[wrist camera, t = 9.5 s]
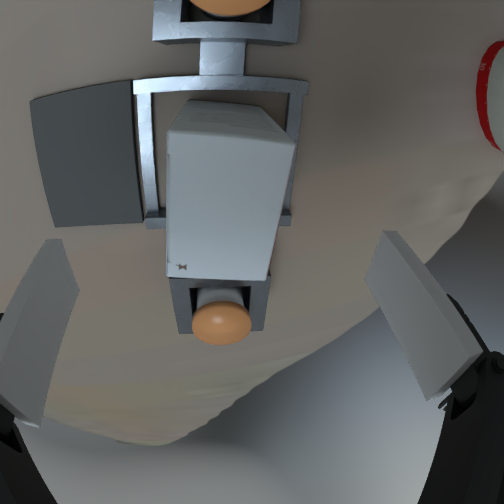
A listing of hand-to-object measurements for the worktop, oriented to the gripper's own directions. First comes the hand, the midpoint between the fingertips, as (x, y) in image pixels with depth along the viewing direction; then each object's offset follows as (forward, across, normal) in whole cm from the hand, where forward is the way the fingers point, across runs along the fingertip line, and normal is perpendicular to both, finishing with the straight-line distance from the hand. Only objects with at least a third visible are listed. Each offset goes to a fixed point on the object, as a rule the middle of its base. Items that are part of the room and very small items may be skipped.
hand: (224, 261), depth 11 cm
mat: (+13, -11, 0) cm, 17 cm away
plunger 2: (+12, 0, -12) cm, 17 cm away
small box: (+14, 0, 0) cm, 14 cm away
